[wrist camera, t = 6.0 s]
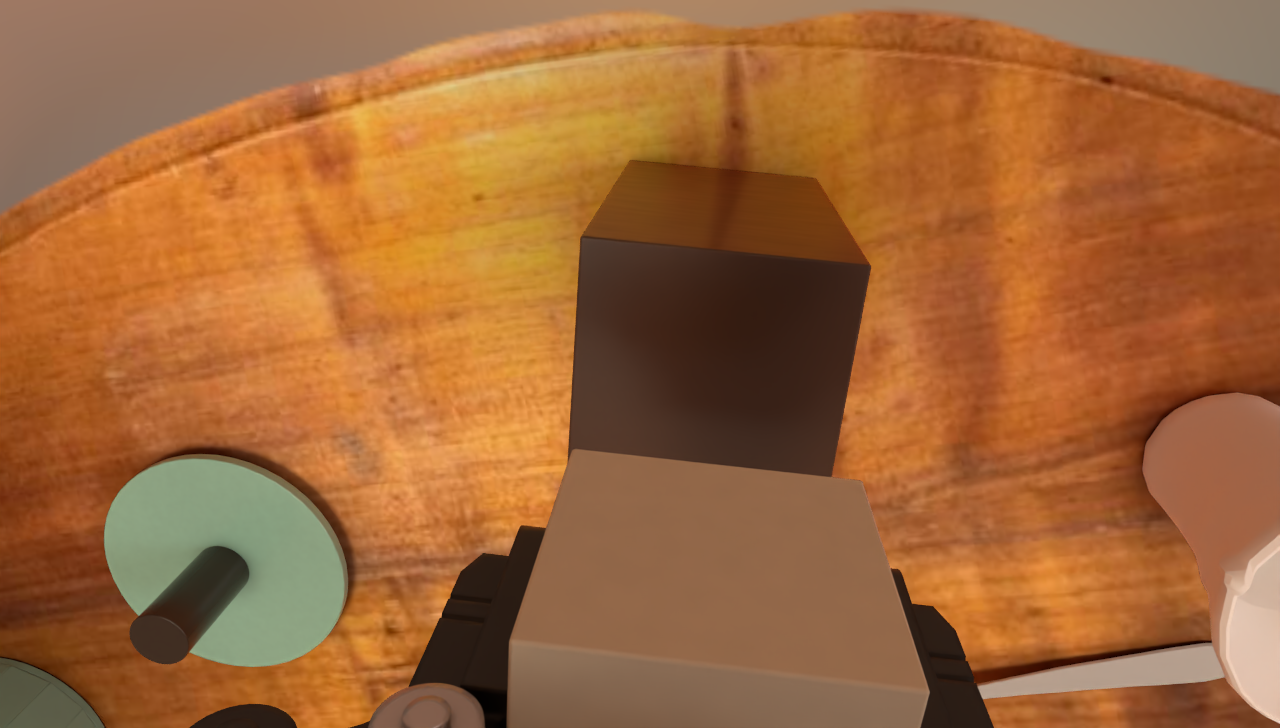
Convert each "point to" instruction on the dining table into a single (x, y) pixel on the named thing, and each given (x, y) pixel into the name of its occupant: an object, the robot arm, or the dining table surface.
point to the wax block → (710, 604)
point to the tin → (40, 700)
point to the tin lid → (223, 563)
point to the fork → (1115, 673)
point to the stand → (716, 320)
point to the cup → (1229, 527)
